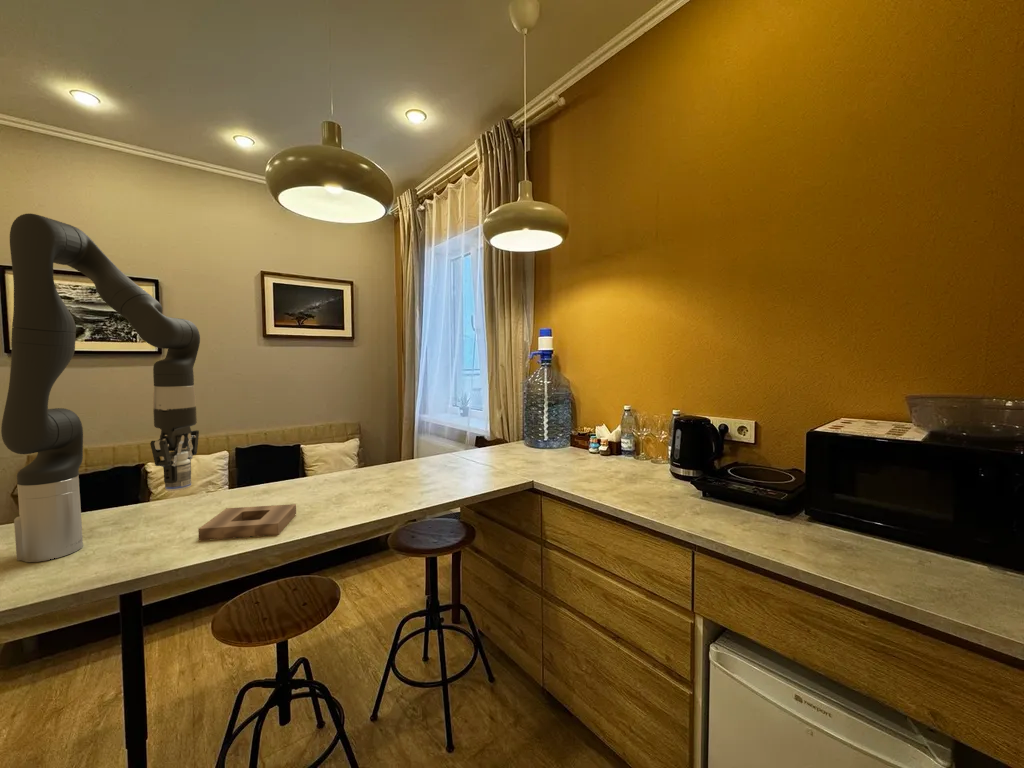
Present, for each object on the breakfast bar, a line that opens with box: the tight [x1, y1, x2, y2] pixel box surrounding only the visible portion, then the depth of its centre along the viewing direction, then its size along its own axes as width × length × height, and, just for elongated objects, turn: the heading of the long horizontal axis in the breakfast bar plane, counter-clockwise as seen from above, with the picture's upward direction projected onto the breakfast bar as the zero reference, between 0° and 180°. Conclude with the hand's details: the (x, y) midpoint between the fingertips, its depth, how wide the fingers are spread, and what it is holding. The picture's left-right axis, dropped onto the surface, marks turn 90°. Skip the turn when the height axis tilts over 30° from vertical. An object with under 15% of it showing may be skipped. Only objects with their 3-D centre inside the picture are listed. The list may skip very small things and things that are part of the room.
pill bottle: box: [164, 451, 192, 492], centre depth 93 cm, size 5×5×8 cm
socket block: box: [198, 503, 297, 541], centre depth 108 cm, size 18×14×3 cm
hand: (178, 478), depth 93 cm, fingers closed on pill bottle, 4 cm apart
